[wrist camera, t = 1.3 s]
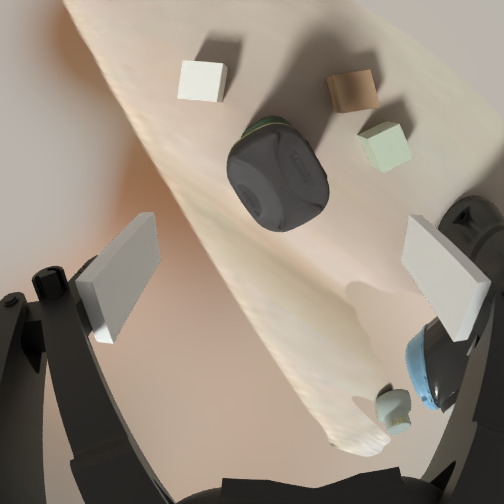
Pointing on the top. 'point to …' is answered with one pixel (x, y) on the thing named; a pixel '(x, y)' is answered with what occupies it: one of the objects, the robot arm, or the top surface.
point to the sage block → (385, 146)
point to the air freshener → (394, 410)
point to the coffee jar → (277, 175)
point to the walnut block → (352, 91)
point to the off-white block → (202, 81)
